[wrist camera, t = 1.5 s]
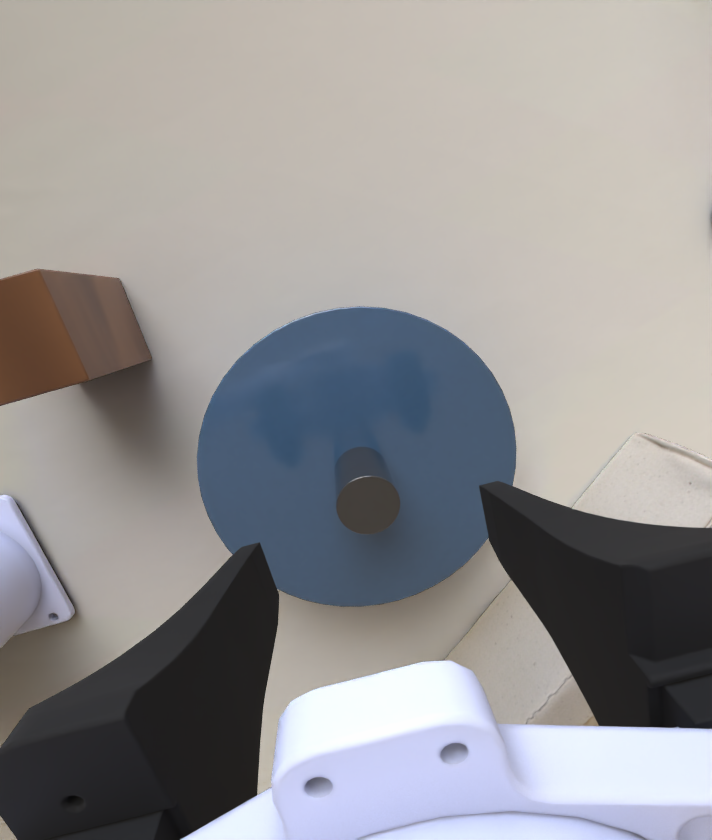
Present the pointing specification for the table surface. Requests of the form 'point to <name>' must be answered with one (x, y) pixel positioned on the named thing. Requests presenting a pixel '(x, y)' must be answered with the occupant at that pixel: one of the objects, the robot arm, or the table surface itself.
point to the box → (522, 629)
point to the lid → (355, 454)
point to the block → (63, 332)
